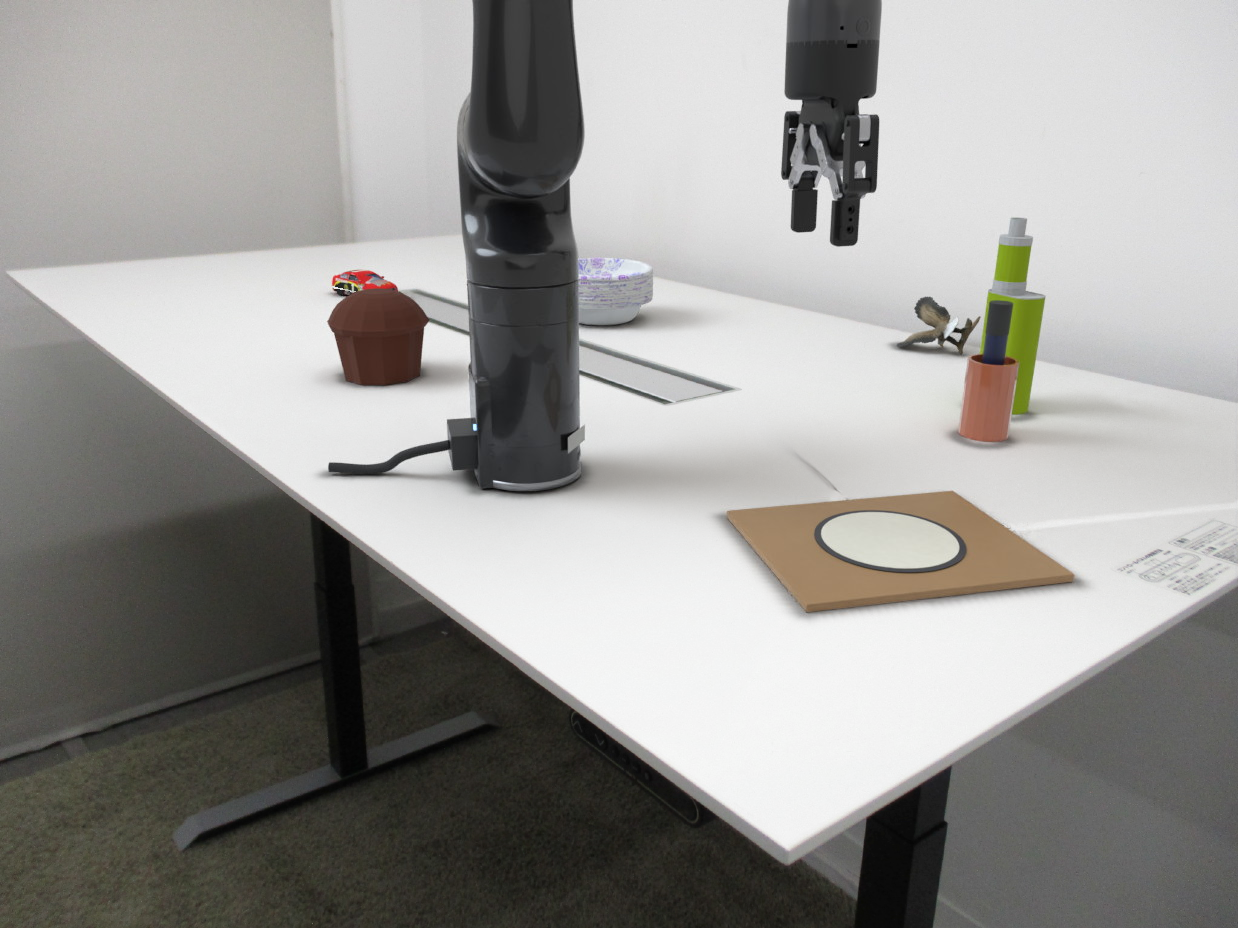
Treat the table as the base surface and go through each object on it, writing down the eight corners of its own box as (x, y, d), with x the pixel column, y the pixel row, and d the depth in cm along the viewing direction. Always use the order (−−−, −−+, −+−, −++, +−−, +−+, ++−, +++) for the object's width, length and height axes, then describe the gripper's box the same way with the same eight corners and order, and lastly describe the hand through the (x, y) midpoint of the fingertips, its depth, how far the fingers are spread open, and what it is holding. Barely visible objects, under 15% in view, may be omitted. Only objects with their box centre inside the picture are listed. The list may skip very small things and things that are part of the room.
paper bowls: (594, 336, 139) (594, 278, 136) (529, 317, 150) (527, 264, 147) (674, 320, 149) (675, 266, 146) (606, 304, 159) (607, 254, 156)
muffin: (312, 382, 116) (303, 296, 113) (366, 359, 126) (359, 279, 123) (401, 392, 113) (395, 304, 109) (450, 368, 122) (445, 286, 119)
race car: (404, 299, 163) (403, 274, 161) (377, 304, 159) (375, 279, 157) (355, 288, 171) (353, 265, 169) (328, 293, 167) (326, 269, 165)
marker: (979, 438, 98) (997, 305, 93) (967, 431, 100) (985, 300, 95) (998, 436, 98) (1017, 304, 94) (986, 429, 100) (1004, 299, 96)
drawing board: (806, 612, 66) (807, 602, 66) (726, 517, 80) (726, 508, 80) (1073, 581, 70) (1075, 572, 70) (951, 496, 85) (952, 488, 85)
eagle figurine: (978, 338, 134) (915, 317, 138) (983, 300, 128) (917, 279, 133) (952, 377, 131) (889, 354, 135) (956, 339, 126) (890, 317, 130)
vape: (990, 400, 111) (1016, 215, 104) (1033, 415, 106) (1064, 222, 99) (965, 405, 110) (990, 217, 103) (1008, 420, 105) (1037, 223, 98)
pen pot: (974, 447, 96) (985, 367, 94) (948, 432, 101) (958, 355, 98) (1016, 444, 97) (1029, 364, 95) (989, 429, 102) (1000, 352, 99)
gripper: (758, 42, 88) (753, 230, 94) (826, 34, 75) (815, 253, 81) (838, 40, 90) (828, 226, 95) (918, 33, 77) (901, 248, 82)
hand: (822, 238), depth 88 cm, fingers open, 8 cm apart
